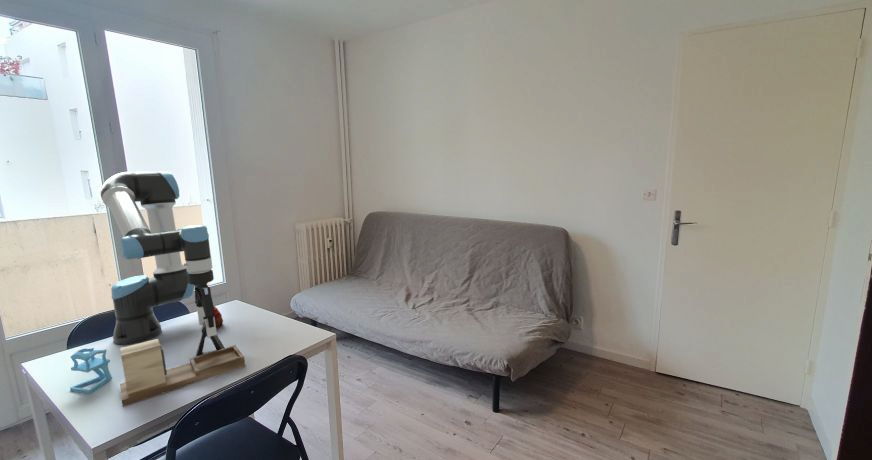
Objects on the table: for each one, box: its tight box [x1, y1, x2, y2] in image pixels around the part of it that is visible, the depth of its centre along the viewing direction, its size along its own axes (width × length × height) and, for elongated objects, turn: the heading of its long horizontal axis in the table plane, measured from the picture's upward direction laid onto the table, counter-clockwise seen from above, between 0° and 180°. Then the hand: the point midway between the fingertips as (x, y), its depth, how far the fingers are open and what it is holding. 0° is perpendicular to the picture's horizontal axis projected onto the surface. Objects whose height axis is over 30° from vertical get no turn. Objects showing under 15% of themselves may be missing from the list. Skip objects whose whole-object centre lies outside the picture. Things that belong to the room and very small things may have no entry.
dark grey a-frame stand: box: [195, 321, 226, 357], centre depth 134 cm, size 9×6×12 cm, turn 118°
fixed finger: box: [119, 338, 167, 394], centre depth 114 cm, size 6×10×12 cm, turn 131°
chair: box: [69, 347, 113, 394], centre depth 117 cm, size 8×8×12 cm
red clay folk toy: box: [205, 305, 224, 330], centre depth 157 cm, size 8×7×15 cm
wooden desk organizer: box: [119, 344, 246, 408], centre depth 121 cm, size 11×32×4 cm, turn 131°
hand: (207, 329), depth 133 cm, fingers open, 13 cm apart
